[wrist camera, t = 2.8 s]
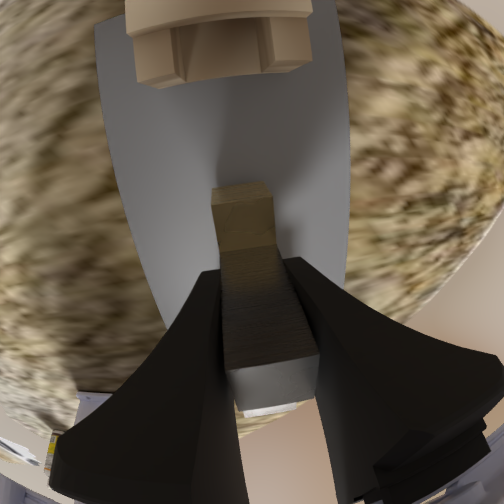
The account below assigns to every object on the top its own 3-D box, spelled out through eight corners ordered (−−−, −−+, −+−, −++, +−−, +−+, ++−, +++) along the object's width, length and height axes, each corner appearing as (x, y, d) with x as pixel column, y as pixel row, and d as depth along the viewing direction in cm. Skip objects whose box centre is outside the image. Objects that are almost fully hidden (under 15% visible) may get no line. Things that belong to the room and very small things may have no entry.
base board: (194, 376, 18) (194, 386, 18) (102, 29, 7) (94, 24, 6) (328, 354, 19) (332, 364, 18) (325, 1, 8) (334, -5, 7)
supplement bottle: (89, 447, 28) (82, 501, 19) (59, 437, 26) (49, 489, 18) (81, 436, 25) (71, 496, 16) (48, 424, 24) (35, 481, 15)
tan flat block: (248, 378, 17) (263, 474, 11) (211, 188, 10) (206, 309, 4) (279, 373, 17) (300, 468, 11) (263, 180, 10) (326, 289, 4)
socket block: (159, 89, 9) (131, 80, 6) (150, 5, 7) (124, -30, 3) (287, 72, 9) (319, 57, 6) (276, -10, 7) (300, -49, 4)
